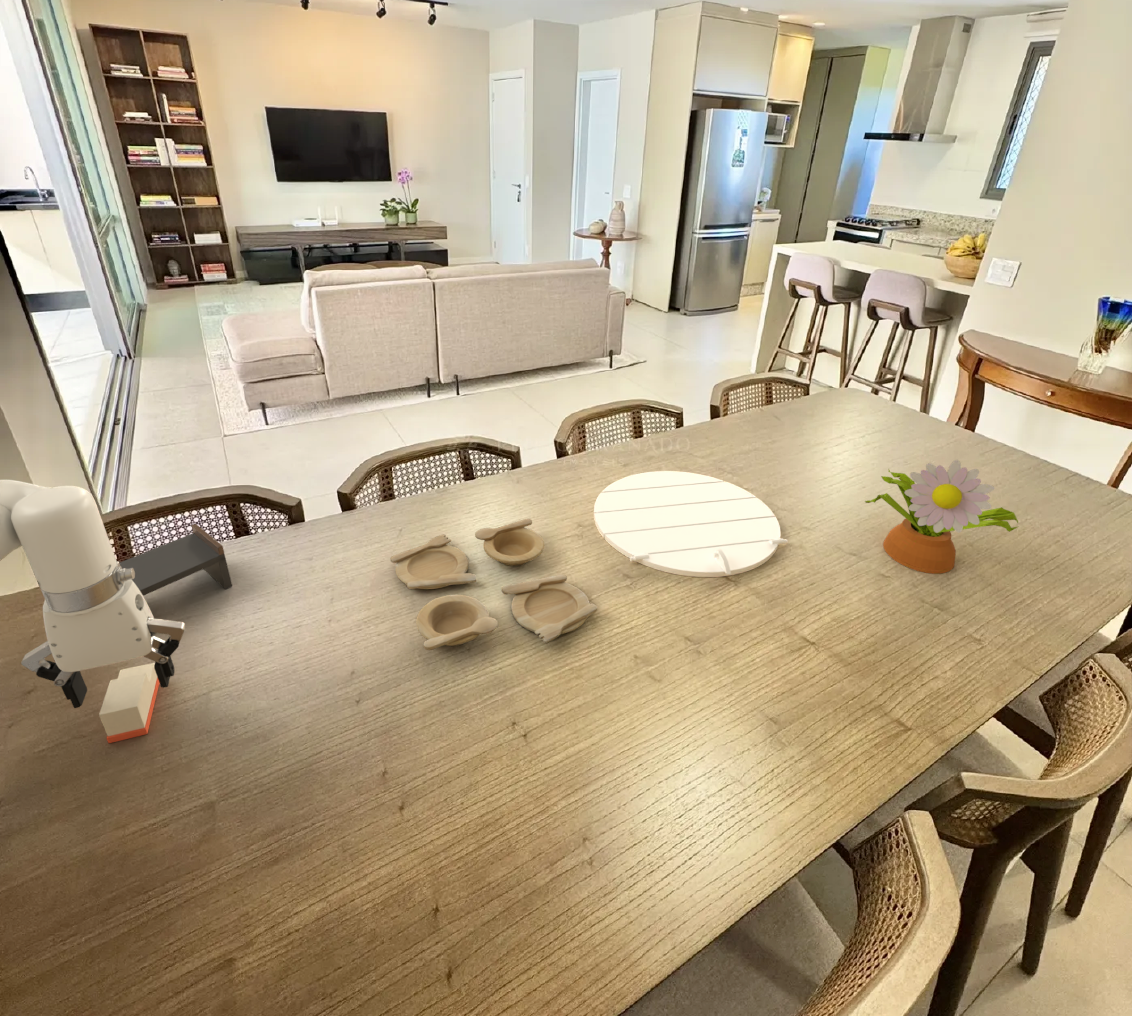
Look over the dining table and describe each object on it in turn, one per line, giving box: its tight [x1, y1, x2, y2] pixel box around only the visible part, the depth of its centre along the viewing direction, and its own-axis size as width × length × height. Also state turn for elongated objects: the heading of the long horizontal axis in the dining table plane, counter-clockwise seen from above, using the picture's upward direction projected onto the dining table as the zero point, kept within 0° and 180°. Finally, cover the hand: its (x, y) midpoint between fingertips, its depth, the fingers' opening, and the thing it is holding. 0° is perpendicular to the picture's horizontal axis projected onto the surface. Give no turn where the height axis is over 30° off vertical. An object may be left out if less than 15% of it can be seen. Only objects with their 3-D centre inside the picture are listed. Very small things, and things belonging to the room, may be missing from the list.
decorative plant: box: [864, 459, 1020, 575], centre depth 123 cm, size 27×24×25 cm
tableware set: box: [389, 518, 598, 651], centre depth 112 cm, size 35×29×4 cm
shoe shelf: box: [119, 523, 233, 597], centre depth 106 cm, size 16×10×9 cm, turn 141°
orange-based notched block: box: [98, 662, 160, 744], centre depth 86 cm, size 10×4×5 cm, turn 21°
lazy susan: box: [593, 470, 789, 578], centre depth 135 cm, size 40×39×3 cm
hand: (124, 689), depth 83 cm, fingers open, 9 cm apart
